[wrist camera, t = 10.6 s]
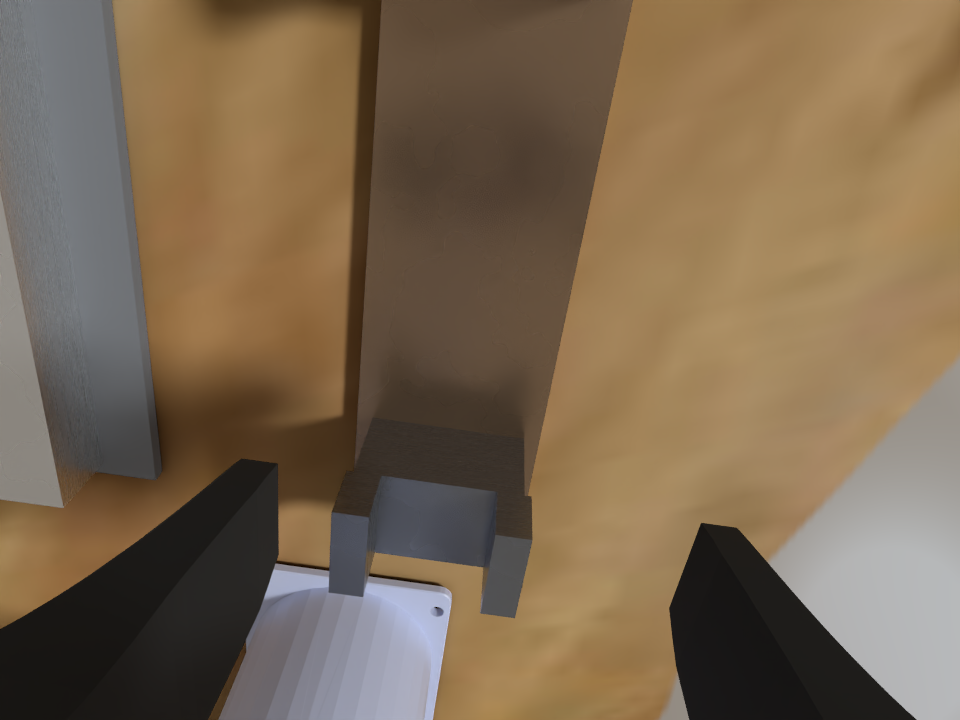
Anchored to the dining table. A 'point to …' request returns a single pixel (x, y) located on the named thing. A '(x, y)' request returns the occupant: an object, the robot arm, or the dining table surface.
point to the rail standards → (470, 274)
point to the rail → (37, 294)
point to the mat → (100, 224)
